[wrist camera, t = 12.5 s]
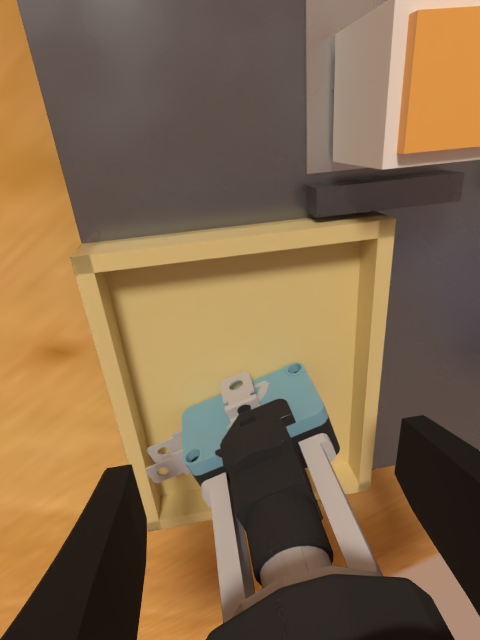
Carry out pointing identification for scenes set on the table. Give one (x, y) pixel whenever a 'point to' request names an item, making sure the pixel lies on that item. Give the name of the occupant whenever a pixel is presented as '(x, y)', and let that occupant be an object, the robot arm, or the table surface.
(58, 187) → the table surface
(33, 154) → the table surface
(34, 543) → the table surface
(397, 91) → the breaker
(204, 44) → the breaker panel
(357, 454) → the tray
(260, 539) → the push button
